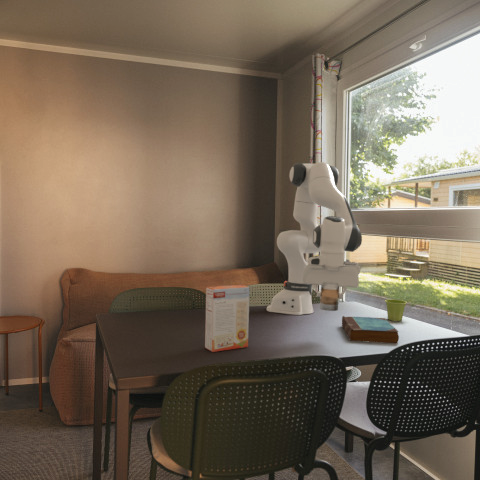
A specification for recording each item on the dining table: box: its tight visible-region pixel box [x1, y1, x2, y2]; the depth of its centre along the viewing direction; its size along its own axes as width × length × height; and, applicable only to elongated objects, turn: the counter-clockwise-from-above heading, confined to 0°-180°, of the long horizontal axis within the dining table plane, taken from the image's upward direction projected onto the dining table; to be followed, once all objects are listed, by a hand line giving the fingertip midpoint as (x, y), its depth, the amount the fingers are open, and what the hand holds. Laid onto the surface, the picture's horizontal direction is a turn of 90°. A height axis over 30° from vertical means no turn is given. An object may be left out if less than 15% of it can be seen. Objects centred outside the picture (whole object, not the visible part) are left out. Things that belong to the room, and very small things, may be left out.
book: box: [341, 315, 400, 344], centre depth 177 cm, size 23×18×5 cm
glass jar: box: [319, 282, 340, 312], centre depth 167 cm, size 7×7×10 cm
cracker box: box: [204, 284, 251, 353], centre depth 152 cm, size 14×6×21 cm, turn 121°
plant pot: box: [384, 299, 407, 322], centre depth 206 cm, size 9×9×9 cm
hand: (329, 297), depth 167 cm, fingers closed on glass jar, 7 cm apart
